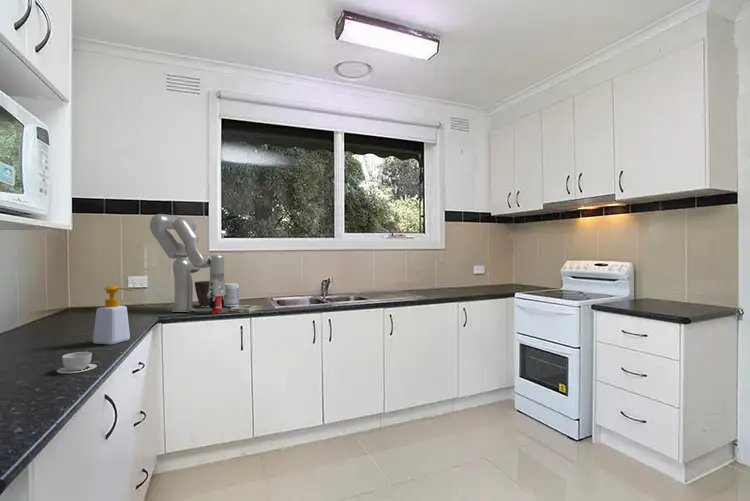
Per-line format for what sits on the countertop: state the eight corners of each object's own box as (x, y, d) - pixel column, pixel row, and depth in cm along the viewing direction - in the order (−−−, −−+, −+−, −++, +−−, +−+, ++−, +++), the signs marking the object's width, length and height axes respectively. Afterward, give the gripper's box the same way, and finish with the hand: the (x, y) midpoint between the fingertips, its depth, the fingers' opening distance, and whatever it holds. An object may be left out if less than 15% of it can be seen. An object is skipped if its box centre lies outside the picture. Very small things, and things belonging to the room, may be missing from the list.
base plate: (228, 311, 240) (228, 308, 240) (241, 308, 254) (241, 305, 254) (249, 313, 236) (249, 309, 236) (262, 309, 250) (262, 306, 250)
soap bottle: (121, 346, 155) (122, 287, 155) (91, 344, 158) (91, 286, 158) (140, 340, 165) (141, 285, 164) (111, 339, 167) (111, 284, 167)
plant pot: (201, 305, 266) (201, 280, 266) (223, 305, 266) (223, 281, 266) (189, 308, 252) (190, 282, 251) (213, 309, 251) (213, 282, 251)
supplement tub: (240, 307, 260) (241, 283, 260) (225, 308, 254) (225, 284, 254) (236, 305, 268) (236, 282, 268) (221, 306, 262) (221, 283, 262)
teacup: (100, 370, 126) (100, 354, 126) (59, 377, 119) (59, 361, 119) (93, 363, 133) (93, 349, 133) (54, 369, 126) (54, 354, 126)
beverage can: (211, 313, 233) (211, 292, 233) (212, 312, 238) (212, 291, 238) (221, 313, 234) (221, 292, 234) (222, 312, 239) (222, 291, 239)
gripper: (213, 277, 227) (212, 309, 227) (231, 275, 244) (231, 305, 244) (201, 277, 229) (201, 309, 229) (220, 275, 245) (220, 305, 246)
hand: (216, 307), depth 236 cm, fingers open, 7 cm apart
